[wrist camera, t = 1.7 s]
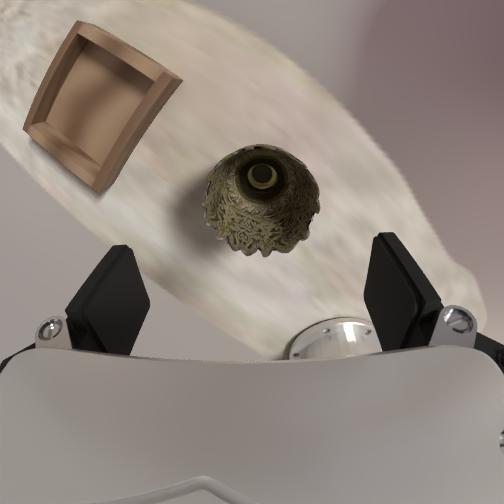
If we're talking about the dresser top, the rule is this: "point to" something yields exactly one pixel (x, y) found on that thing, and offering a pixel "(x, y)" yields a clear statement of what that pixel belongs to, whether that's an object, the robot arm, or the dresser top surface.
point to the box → (97, 103)
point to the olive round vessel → (261, 201)
